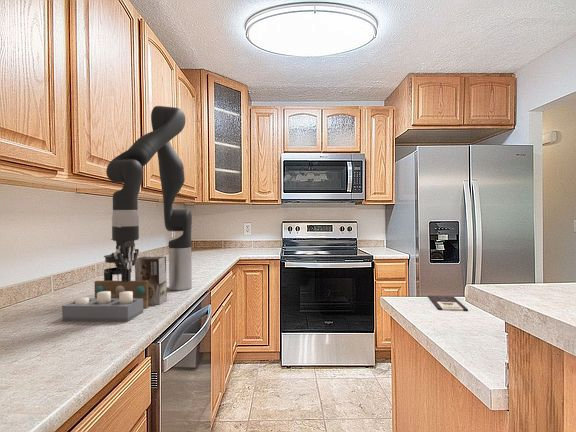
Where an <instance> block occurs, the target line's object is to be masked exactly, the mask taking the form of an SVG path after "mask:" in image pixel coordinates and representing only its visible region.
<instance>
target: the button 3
mask: <svg viewBox="0 0 576 432" xmlns="http://www.w3.org/2000/svg"><path fill="white" fill-rule="evenodd" d="M131 303H133V292H132V291H124V292H120V293H119V304H131Z"/></svg>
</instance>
